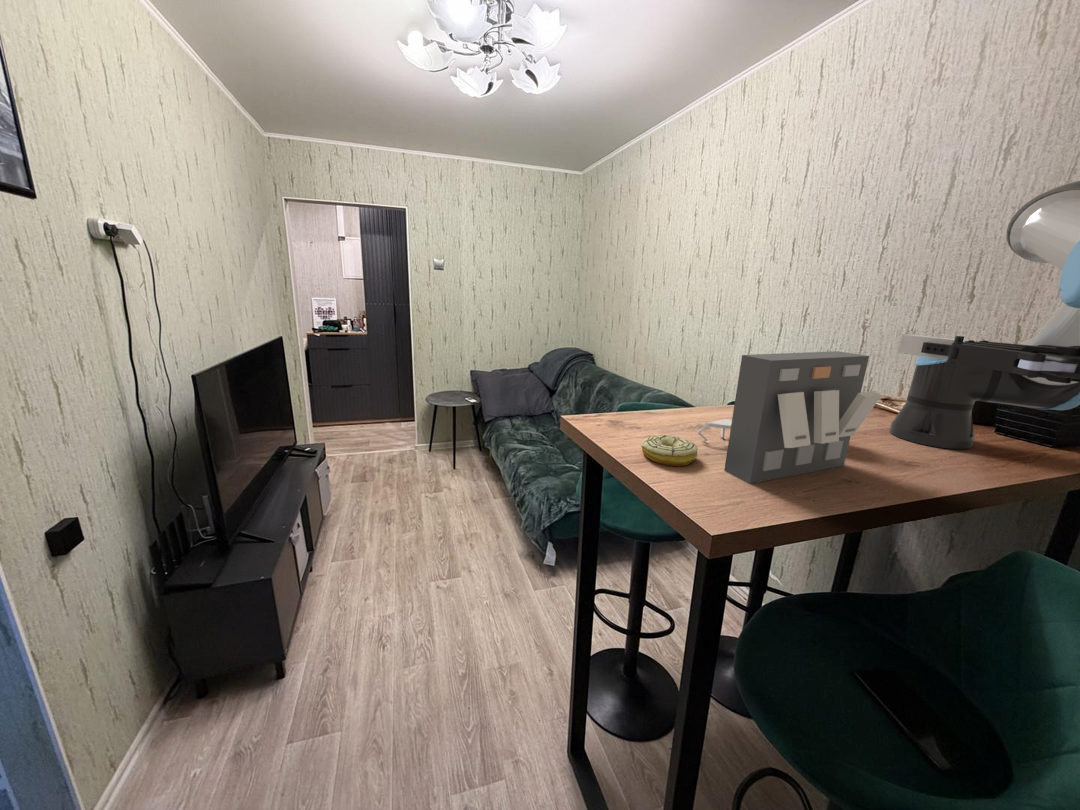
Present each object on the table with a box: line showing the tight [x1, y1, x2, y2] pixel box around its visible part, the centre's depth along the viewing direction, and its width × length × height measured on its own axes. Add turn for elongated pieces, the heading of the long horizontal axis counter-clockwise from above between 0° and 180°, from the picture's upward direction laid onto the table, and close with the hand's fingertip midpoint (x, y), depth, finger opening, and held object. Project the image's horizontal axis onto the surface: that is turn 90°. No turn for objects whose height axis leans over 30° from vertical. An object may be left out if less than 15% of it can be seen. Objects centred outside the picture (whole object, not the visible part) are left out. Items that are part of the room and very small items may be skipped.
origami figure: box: [696, 418, 732, 443], centre depth 96 cm, size 12×8×5 cm
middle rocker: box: [814, 390, 839, 444], centre depth 75 cm, size 2×4×9 cm, turn 112°
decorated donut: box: [640, 435, 699, 467], centre depth 87 cm, size 10×11×4 cm
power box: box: [724, 350, 870, 484], centre depth 81 cm, size 6×25×22 cm, turn 112°
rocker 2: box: [839, 390, 882, 437], centre depth 79 cm, size 2×4×9 cm, turn 112°
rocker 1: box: [778, 392, 811, 448], centre depth 72 cm, size 2×4×9 cm, turn 112°
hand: (902, 343), depth 64 cm, fingers closed
